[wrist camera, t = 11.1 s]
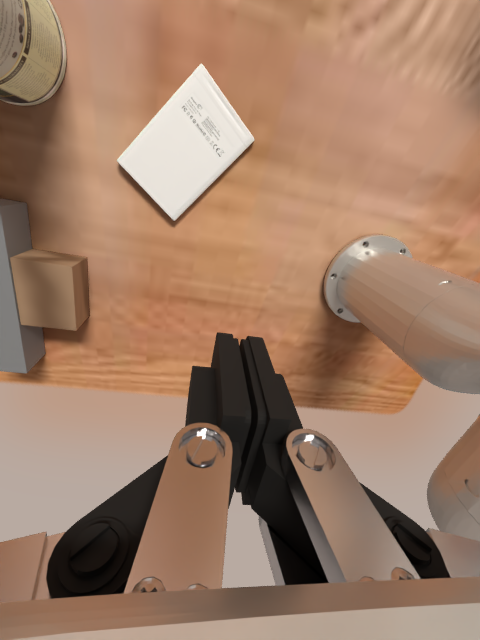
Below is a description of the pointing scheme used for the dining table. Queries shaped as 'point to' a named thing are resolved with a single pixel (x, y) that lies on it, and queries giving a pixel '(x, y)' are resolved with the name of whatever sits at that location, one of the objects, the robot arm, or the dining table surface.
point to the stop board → (3, 315)
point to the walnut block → (51, 289)
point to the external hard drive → (186, 144)
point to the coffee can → (30, 51)
